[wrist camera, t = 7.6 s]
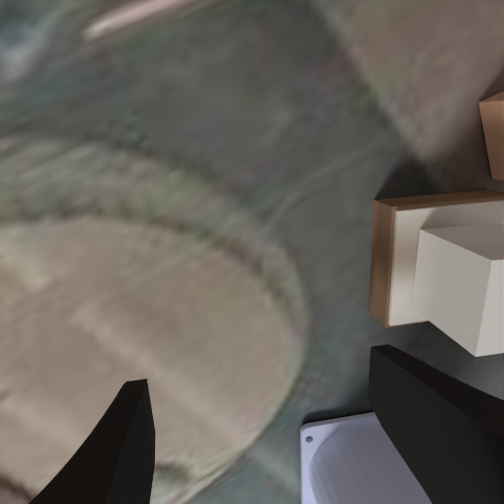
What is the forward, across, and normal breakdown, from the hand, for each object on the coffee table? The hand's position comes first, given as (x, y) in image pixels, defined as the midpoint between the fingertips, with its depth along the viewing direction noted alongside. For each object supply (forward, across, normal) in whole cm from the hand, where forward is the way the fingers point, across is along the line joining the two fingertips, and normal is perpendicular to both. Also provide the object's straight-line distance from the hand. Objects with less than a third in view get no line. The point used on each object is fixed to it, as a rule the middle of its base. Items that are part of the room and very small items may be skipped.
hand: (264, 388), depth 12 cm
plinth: (+10, -12, 0) cm, 16 cm away
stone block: (+8, -12, 0) cm, 15 cm away
